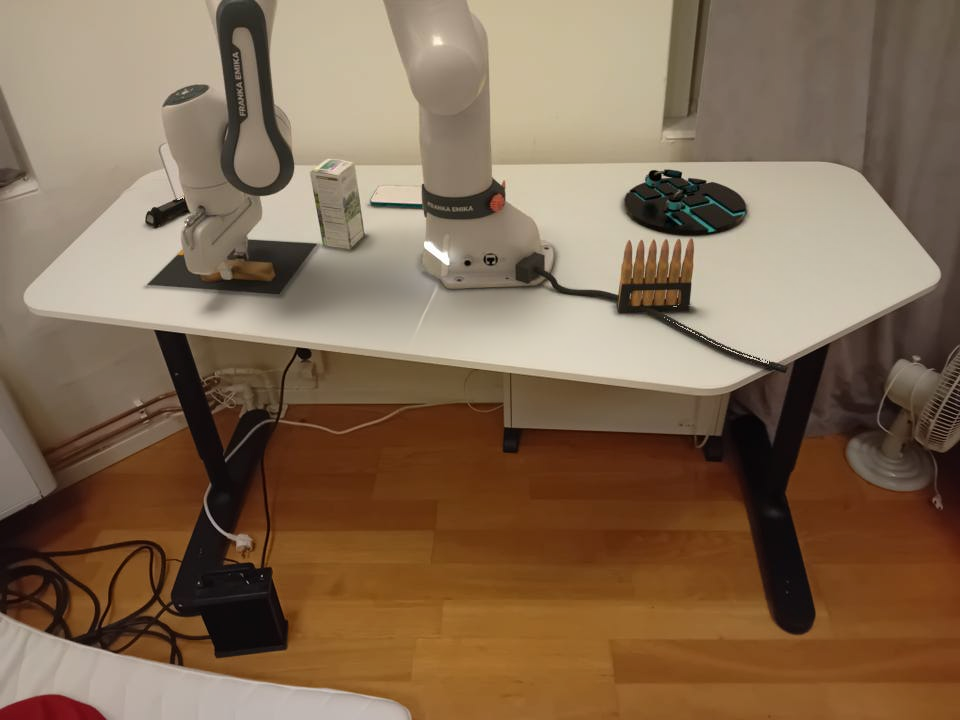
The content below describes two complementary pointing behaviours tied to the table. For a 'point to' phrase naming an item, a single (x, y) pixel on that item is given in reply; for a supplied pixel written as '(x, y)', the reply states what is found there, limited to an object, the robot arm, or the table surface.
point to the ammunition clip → (656, 279)
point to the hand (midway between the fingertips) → (236, 269)
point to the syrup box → (337, 203)
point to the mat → (276, 252)
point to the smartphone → (397, 196)
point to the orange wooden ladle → (245, 271)
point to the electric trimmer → (165, 212)
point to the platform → (683, 205)
